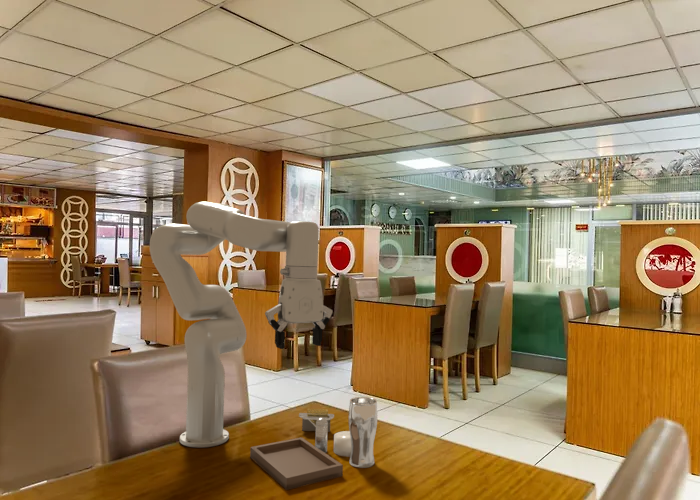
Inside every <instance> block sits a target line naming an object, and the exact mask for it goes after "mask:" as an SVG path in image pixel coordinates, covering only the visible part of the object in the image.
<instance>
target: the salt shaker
mask: <svg viewBox="0 0 700 500" xmlns="http://www.w3.org/2000/svg"><path fill="white" fill-rule="evenodd" d="M314 442H315V443H314V446H315V447H317V448H318V449H320V450H321V451H323V452H324V453H326V454H327V453H328V422H327V420H326V419H325V418H319V419H318V420H317V421H316V431H315V441H314Z"/></svg>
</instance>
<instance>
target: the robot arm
mask: <svg viewBox="0 0 700 500" xmlns="http://www.w3.org/2000/svg"><path fill="white" fill-rule="evenodd" d="M185 218H186V222H187V224H182V223H166V224H163V225H160V226H158V227H157V228H155V229H154V230H153V232H152V233H151V235H150V240H149V254H150V257H151V261H152V262H153V264H154V267H155V269H156V270H157V272H158V273H159V275H160V277H161V278H162V279H163V282H164V283H165V286H166V289H167V291H168V293H169V296H170V298H171V300H172V303H173V305H174V307H175V309H176V312H177V314H178V315H179V317H180V318H181V319H183V320H185V321H196V322H194V323H192V324H191V325H190V326H189V327H188V328H187V329H186V332H185V334H184V346H185V347H184V348H185V353H186V361H187V378H186V379H187V387H186V388H187V390H186V395H187V396H186V416H185V417H186V418H185V419H186V420H185V422H186V423H185V424H186V425H185V431H184V432H182V433H181V434H180V435H179V443H180V444H181V445H183V446H185V447H189V448H196V449H197V448H202V449H203V448H211V447H215V446H219V445H222V444H224V443H226V442H227V441H228V440H229V438H230V437H229V436H230V433H229V431H228V430H226V429H224V418H225V417H224V415H225V414H224V411H225V384H226V383H225V377H226V376H225V374H226V373H225V367H224V364H223V362H222V360H221V359H220V355H221V354H226V353H231V352H234V351H238V350H240V349H241V348H243V347H244V346H245V343H246V341H247V328H246V325H245V323H244V320H243V318H242V316H241V314H240V312H239V310H238V308H237V305H236V304H235V301H234V299H233V298H232V296H231V294H230V293H229V292H228V290H227V289H226V288H224V287H223V286H221V285H219V284H203V283H202V282H201V281H200V279H199V277H198V275H197V273H196V270H195V268H193V266H192V264H190V263H189V262H188V261H187V260H186V259H184V258H183V257H182V256H181V255H183V256H185V255H186V256H187V255H190V256H191V255H192V256H195V255H196V256H200V255H205V254H208V253H210V252H211V251H212V250H214V249H215V248H216V247H217V246H219V245H220V244H221V243H222V242H224V241H228V242H229V243H230V244H232V245H235V246H237V247H238V246H239V247H241V248H245V249H248V250H251V251H258V252H274V253H275V252H277V253H285V266H284V268H281V269H280V272H279V273H280V275H283V276H284V279H282V281H281V285H280V289H279V296H278V302H277V303H278V304H277V305H275V306H273V307H272V308H269V309H268V310H266V311H265V313H264V314H265V315H264V316H265V318H266V319H267V321H268V324H269V325H270V326H271V327H272V329H273V330H274V332H275V333H274V343H275V347H276V348H278V349H280V350H283V349H285V347H286V346H285V344H286V341H285V340H286V332H285V331H284V329H286V326H288V324H309V323H312V324H313V325H314V327H313V328H312V339H311V340H312V341H311V342H312V345H314V346H317V347H321V346H322V342H323V331H324V330H325V328H326V325H327V324H328V323H329V322H330V318H331V316H332V315H333V309H331V308H330V307H327V306H326V305H324V298H323V297H324V295H323V289H322V282H321V280H320V279H318V261H319V238H320V237H319V236H320V235H319V233H320V228H319V225H318V224H317V223H316V222H313V221H306V220H305V221H304V220H303V221H300V220H299V221H298V220H297V221H296V220H295V221H291V222H289V221H282V220H275V219H266V218H265V219H264V218H260V217H259V218H258V217H253V216H248V215H246V213H245V212H244V211H243V210H242V209H238V208H235V207H233V206H231V205H228V204H226V203H218V202H212V201H210V202H209V201H199V202H195V203H194V204H191V206H190V207H189V208H188V210H187V211H186V217H185ZM276 314H277V318H278V320H277V321H276V319H275V317H274V315H276Z"/></svg>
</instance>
